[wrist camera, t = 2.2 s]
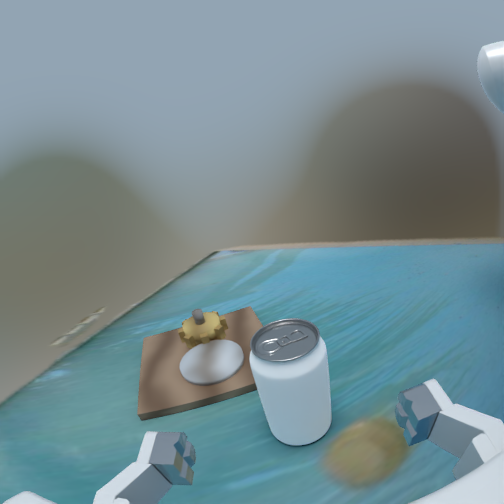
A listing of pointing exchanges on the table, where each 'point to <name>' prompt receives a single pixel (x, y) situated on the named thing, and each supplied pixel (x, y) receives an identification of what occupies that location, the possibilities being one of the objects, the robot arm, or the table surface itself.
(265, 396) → the can
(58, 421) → the table surface
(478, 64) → the robot arm
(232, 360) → the board
